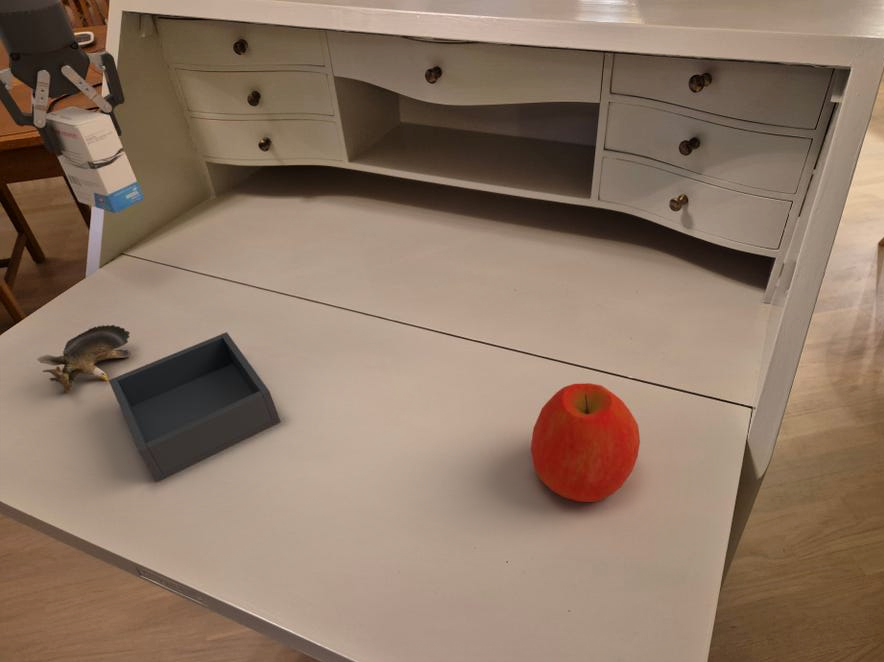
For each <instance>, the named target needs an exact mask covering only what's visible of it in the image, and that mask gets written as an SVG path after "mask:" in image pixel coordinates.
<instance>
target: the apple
mask: <svg viewBox="0 0 884 662" xmlns="http://www.w3.org/2000/svg"><path fill="white" fill-rule="evenodd" d="M640 445H641V437H640V427H639V424H638V423H637V420H636V419H635V417H634V415H633V413H632V412H631V410H630V409H629V408H628V406H627V405H626V404H625V402H624V401H623V400H622V399H621V398H620V397H619V396H618V395H616V394H615V393H613V392H611V391H610V390H609V389H608V388H606V387H604V385H601V384H596V383H592V382H591V383H590V382H587V383H585V382H584V383H573V384H569V385H566V386H563V387H562V388H560V389H559V390H558V391H557V392H555V393H554V394H553V396H551V398H550V399H548V401H546V403H545V404H544V405H543V406H542V407H541V410H540V411H539V414H538V416H537V419H536V421H535V423H534V425H533V429H532V436H531V443H530V452H531V459H532V463H533V468H534V471H535V472H536V475H537V476H538V478H539V480H540V481H541V482H542V483H543V484H544V485H546V487H547V488H549V489H550V491H552V492H554V493H555V494H557V495H559V496H561V497H562V498H566V499H569V500H573V501H576V502H580V503H588V502H592V503H594V502H595V503H596V502H599V501H601V500H603V499H605V498H608V497H609V496H612V495H613V494H614V493H616V492H617V491H619V490H620V489H621V488H622V487H623V486H624V484H625V483H626V481H627V480H628V478H629V477H630V475H631V473H633V470H634V468H635V465H636V463H637V460H638V457H639V451H640Z"/></svg>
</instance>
